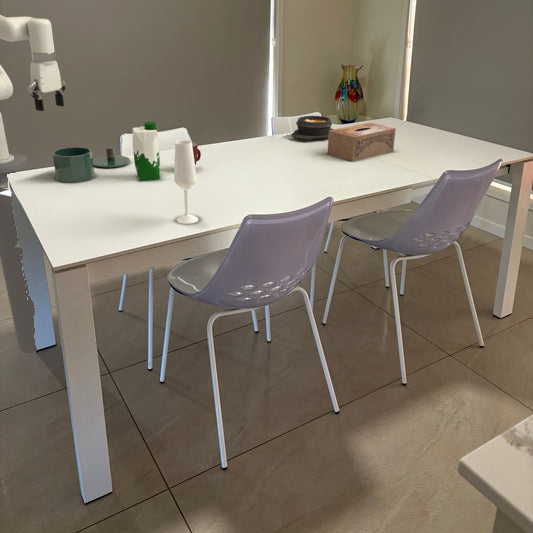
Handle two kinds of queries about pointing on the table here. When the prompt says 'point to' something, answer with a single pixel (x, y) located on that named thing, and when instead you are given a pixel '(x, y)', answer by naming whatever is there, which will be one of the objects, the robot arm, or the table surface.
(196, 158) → the mug
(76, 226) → the table surface
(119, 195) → the table surface
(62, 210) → the table surface
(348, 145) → the tissue box cover
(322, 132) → the casserole
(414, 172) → the table surface
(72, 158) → the pot
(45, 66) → the robot arm
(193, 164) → the champagne flute
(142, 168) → the milk carton
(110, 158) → the lid
